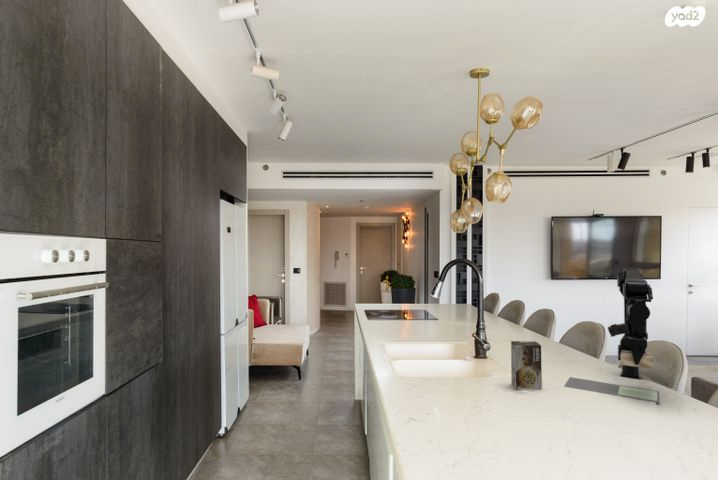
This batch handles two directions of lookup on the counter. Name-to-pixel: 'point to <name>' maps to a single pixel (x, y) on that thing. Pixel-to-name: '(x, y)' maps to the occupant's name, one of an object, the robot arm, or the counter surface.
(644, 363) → the taped cardboard box
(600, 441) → the counter surface
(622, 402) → the counter surface
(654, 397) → the mat
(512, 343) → the coffee box
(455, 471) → the counter surface
